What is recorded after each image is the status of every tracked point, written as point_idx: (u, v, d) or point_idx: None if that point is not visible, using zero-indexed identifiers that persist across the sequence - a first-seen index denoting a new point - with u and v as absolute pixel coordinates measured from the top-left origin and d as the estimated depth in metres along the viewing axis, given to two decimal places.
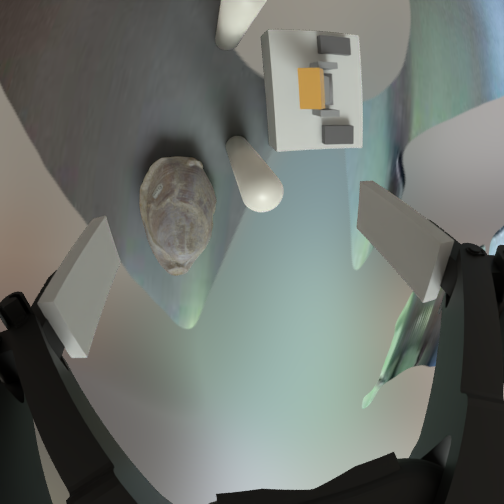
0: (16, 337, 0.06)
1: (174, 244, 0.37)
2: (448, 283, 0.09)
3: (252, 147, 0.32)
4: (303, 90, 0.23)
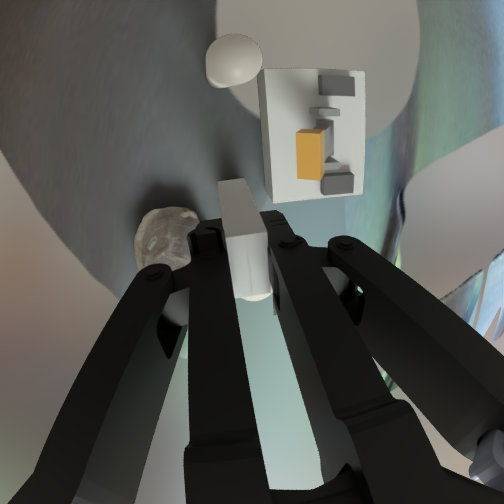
0: (199, 268, 0.09)
1: None
2: (272, 284, 0.10)
3: None
4: (301, 158, 0.23)
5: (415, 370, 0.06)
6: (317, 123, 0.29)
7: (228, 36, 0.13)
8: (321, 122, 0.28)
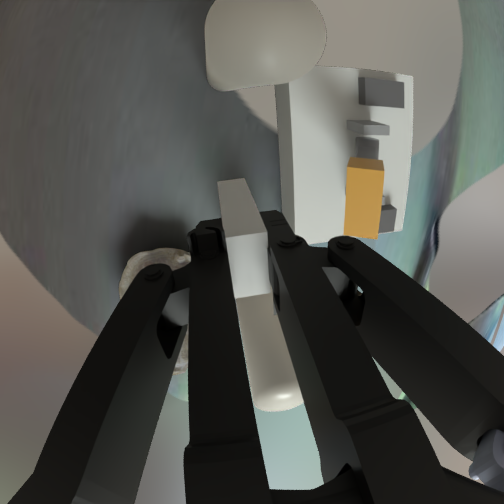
0: (199, 268, 0.09)
1: None
2: (272, 284, 0.10)
3: None
4: (352, 207, 0.15)
5: (415, 370, 0.06)
6: (358, 143, 0.21)
7: None
8: (364, 142, 0.21)
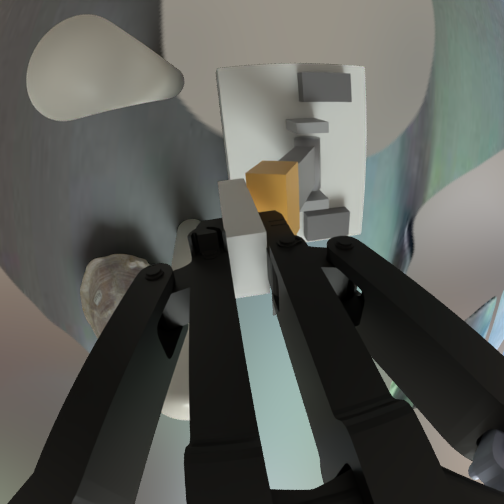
0: (200, 268, 0.09)
1: None
2: (271, 284, 0.10)
3: None
4: None
5: (414, 370, 0.06)
6: (296, 143, 0.21)
7: (61, 25, 0.05)
8: (301, 142, 0.20)
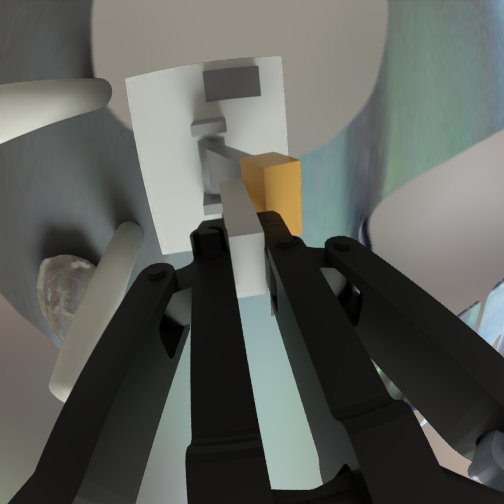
0: (202, 267, 0.09)
1: None
2: (269, 285, 0.10)
3: (119, 262, 0.24)
4: None
5: (413, 371, 0.06)
6: (205, 146, 0.20)
7: None
8: (212, 143, 0.19)
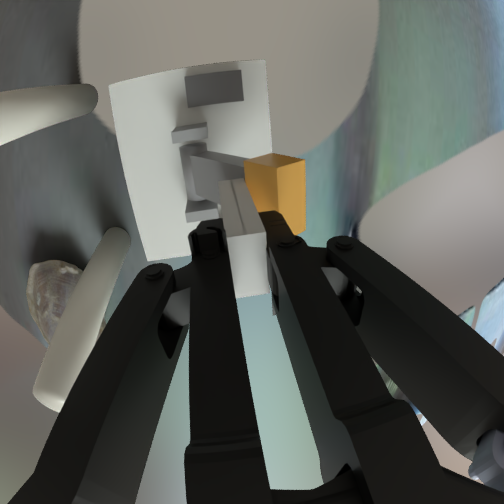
0: (200, 267, 0.09)
1: None
2: (271, 284, 0.10)
3: (104, 268, 0.23)
4: (285, 209, 0.14)
5: (414, 370, 0.06)
6: (189, 152, 0.19)
7: None
8: (197, 149, 0.19)
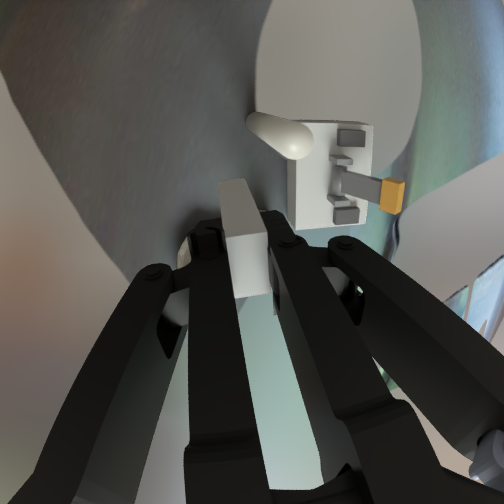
0: (199, 268, 0.09)
1: None
2: (272, 284, 0.10)
3: None
4: (398, 200, 0.33)
5: (415, 370, 0.06)
6: (341, 170, 0.38)
7: (292, 124, 0.22)
8: (345, 169, 0.38)
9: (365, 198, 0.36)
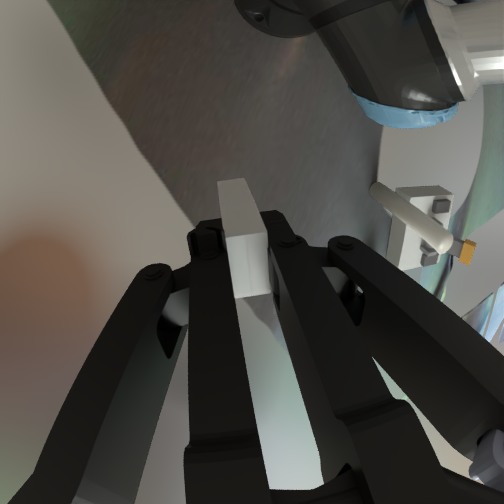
0: (199, 268, 0.09)
1: None
2: (272, 284, 0.10)
3: None
4: None
5: (415, 370, 0.06)
6: None
7: (446, 234, 0.32)
8: None
9: (449, 252, 0.46)
